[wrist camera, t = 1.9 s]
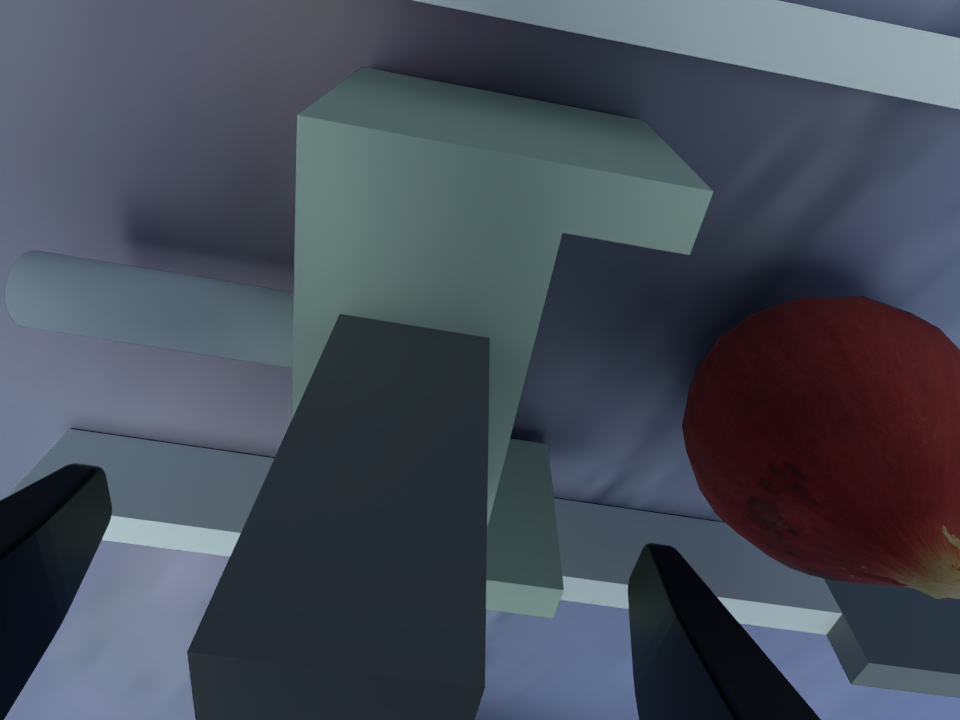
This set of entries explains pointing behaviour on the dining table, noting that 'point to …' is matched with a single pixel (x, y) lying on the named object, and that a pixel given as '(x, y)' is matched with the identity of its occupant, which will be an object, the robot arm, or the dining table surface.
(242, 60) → the dining table surface
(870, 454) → the onion
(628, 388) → the dining table surface
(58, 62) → the dining table surface
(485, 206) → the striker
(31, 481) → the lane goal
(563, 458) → the dining table surface
